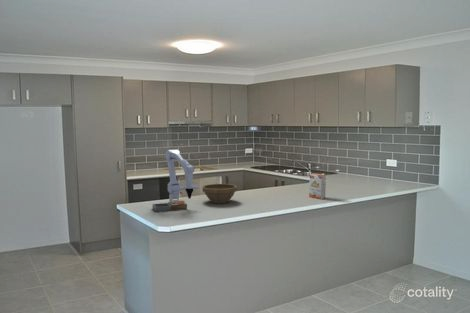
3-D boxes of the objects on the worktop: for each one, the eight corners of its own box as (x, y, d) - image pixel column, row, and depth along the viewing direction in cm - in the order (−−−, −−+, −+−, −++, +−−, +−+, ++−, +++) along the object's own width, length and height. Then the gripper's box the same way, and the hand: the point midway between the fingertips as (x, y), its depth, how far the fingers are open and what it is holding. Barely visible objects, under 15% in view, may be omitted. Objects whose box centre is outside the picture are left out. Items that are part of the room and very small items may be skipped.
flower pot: (197, 200, 351) (197, 184, 349) (227, 197, 364) (227, 182, 362) (211, 206, 326) (210, 190, 324) (242, 203, 339) (242, 187, 337)
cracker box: (308, 196, 365) (309, 173, 363) (313, 196, 369) (313, 173, 367) (320, 199, 354) (321, 175, 352) (325, 198, 358) (326, 174, 356)
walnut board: (168, 207, 323) (168, 202, 323) (182, 206, 328) (182, 201, 327) (171, 210, 312) (171, 205, 312) (186, 209, 317) (186, 204, 316)
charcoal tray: (152, 208, 319) (152, 204, 318) (167, 207, 323) (167, 202, 323) (155, 211, 308) (155, 207, 307) (171, 210, 312) (171, 206, 312)
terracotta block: (178, 203, 319) (178, 200, 319) (183, 203, 320) (183, 199, 320) (179, 204, 315) (179, 201, 315) (184, 204, 317) (184, 200, 316)
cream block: (171, 202, 323) (171, 199, 323) (176, 201, 324) (176, 198, 324) (173, 203, 319) (172, 200, 319) (178, 202, 321) (178, 199, 321)
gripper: (181, 182, 312) (181, 199, 313) (199, 181, 317) (199, 198, 319) (179, 180, 318) (179, 198, 320) (197, 179, 324) (197, 196, 325)
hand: (189, 198), depth 320 cm, fingers closed
